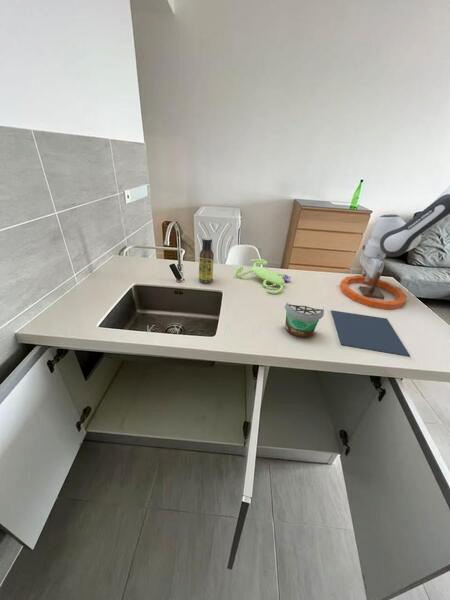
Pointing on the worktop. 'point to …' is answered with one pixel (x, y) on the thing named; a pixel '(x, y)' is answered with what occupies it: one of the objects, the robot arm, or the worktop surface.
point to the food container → (302, 320)
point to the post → (372, 289)
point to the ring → (368, 301)
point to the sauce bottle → (206, 261)
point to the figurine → (266, 275)
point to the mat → (367, 333)
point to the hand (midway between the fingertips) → (364, 279)
